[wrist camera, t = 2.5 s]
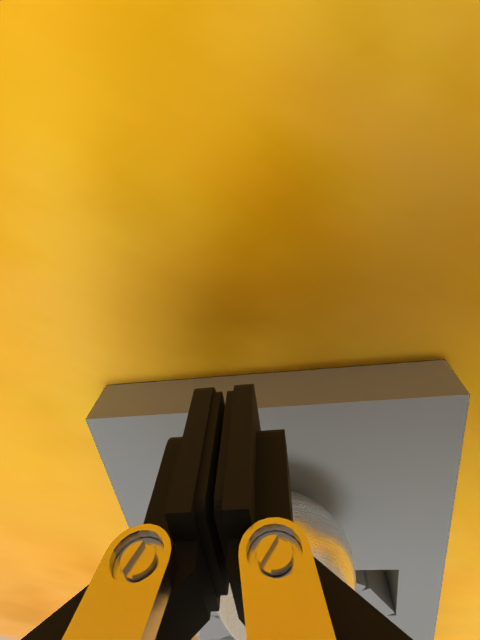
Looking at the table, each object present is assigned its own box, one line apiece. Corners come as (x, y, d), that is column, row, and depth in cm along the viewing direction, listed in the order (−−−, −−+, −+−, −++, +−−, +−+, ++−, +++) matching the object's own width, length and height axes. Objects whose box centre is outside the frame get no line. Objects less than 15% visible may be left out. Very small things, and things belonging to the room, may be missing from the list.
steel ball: (341, 456, 18) (372, 605, 12) (344, 543, 20) (370, 696, 15) (207, 463, 18) (182, 606, 13) (228, 545, 21) (213, 692, 16)
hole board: (444, 359, 18) (469, 394, 16) (414, 641, 28) (426, 686, 26) (106, 385, 20) (85, 419, 18) (196, 639, 30) (190, 681, 28)
